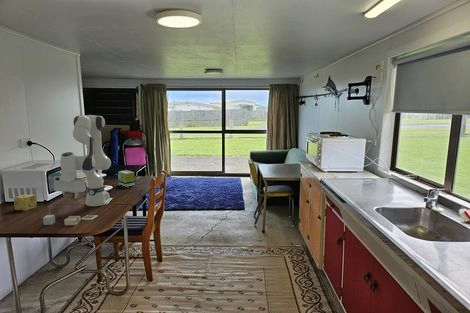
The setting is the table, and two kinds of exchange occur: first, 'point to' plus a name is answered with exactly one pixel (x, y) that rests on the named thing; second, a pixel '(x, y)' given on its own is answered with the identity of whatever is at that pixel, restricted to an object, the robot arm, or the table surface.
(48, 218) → the grey cube
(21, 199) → the cheese
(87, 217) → the swatch
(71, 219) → the oak base block
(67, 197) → the walnut cube
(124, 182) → the tea box
